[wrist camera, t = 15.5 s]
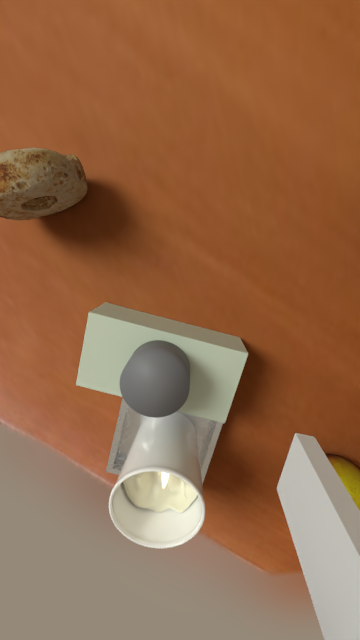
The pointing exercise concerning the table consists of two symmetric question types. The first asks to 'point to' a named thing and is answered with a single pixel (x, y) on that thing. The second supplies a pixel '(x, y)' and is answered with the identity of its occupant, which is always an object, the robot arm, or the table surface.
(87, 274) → the table surface
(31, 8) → the table surface
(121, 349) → the push-button box
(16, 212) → the stone disc
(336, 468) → the fruit
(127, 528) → the candle holder
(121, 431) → the gray square tray
